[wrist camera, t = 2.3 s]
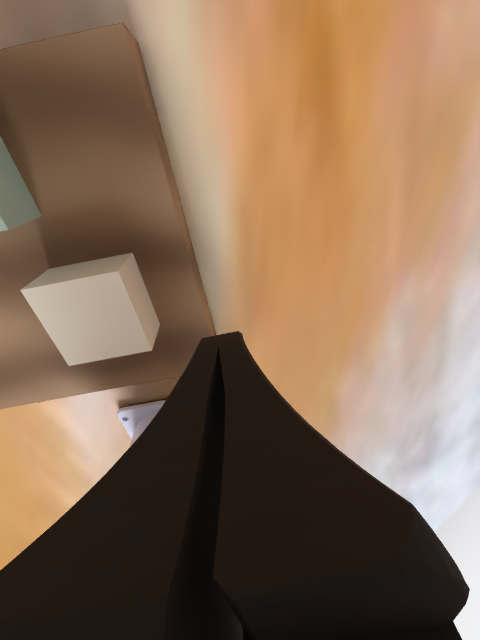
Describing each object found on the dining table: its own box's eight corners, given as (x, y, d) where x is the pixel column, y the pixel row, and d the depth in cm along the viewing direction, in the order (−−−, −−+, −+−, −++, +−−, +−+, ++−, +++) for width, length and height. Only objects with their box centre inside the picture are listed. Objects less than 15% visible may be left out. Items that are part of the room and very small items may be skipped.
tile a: (160, 324, 17) (151, 350, 15) (87, 338, 17) (68, 366, 15) (132, 252, 15) (118, 271, 13) (48, 268, 15) (20, 290, 13)
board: (219, 347, 21) (219, 368, 19) (13, 385, 22) (-8, 410, 20) (138, 42, 13) (123, 22, 11) (-206, 117, 13) (-284, 111, 11)
